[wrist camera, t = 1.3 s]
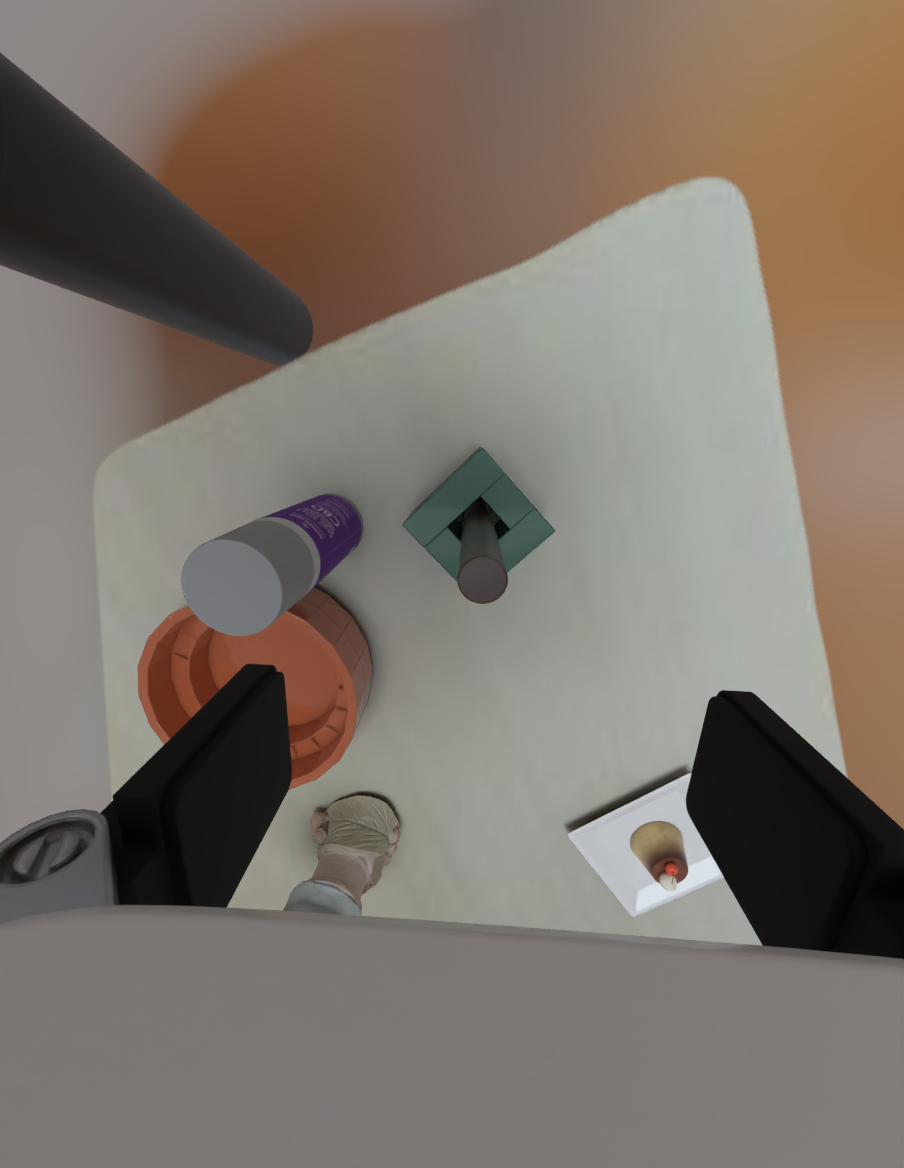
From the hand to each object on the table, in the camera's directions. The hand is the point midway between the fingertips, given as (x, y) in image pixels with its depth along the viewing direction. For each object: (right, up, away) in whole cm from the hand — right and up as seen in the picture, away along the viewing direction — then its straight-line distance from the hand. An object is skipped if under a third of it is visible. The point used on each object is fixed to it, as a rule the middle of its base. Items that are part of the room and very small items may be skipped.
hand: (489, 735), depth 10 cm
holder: (+1, +8, +23) cm, 25 cm away
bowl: (-15, -3, +28) cm, 32 cm away
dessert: (+18, -20, +32) cm, 42 cm away
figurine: (-10, -19, +33) cm, 39 cm away
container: (-10, +8, +24) cm, 27 cm away
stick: (+1, +8, +23) cm, 25 cm away
